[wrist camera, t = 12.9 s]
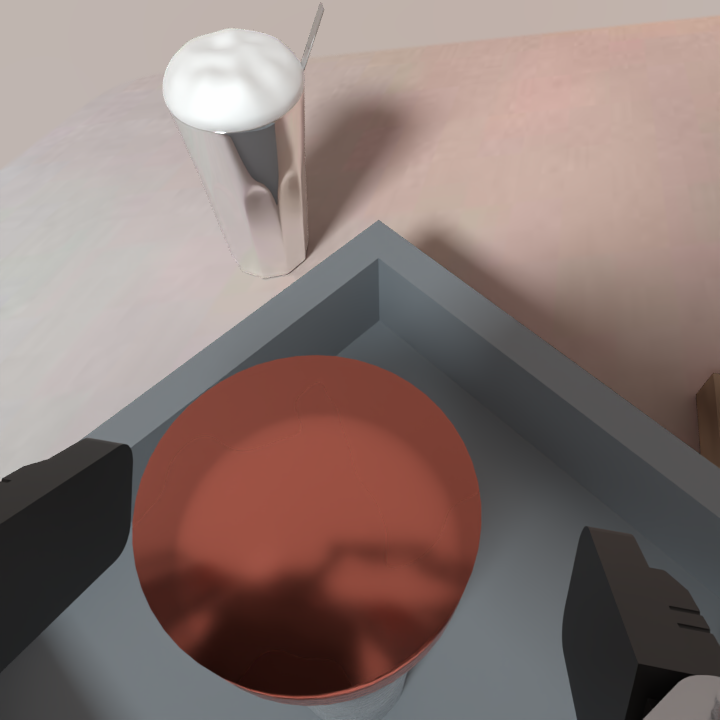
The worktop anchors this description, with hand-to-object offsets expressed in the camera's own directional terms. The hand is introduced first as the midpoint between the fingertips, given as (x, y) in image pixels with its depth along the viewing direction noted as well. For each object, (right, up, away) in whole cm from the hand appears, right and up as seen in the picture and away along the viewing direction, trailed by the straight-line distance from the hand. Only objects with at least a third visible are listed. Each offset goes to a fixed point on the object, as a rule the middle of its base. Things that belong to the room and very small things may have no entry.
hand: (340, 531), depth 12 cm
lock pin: (0, -6, +7) cm, 9 cm away
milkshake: (-3, +8, +17) cm, 19 cm away
